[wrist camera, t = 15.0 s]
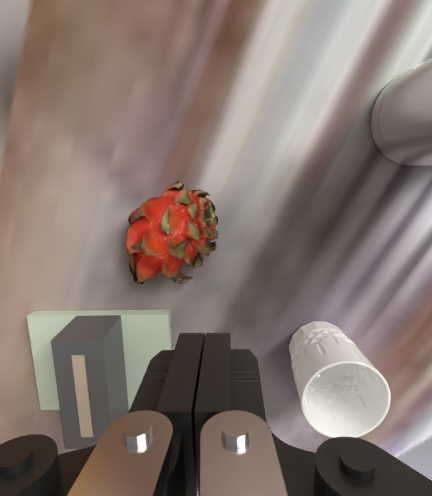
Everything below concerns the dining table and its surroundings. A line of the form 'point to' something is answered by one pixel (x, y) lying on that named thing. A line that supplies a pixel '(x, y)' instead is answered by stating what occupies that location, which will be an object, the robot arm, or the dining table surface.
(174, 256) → the dragon fruit
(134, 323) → the board
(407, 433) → the dining table surface
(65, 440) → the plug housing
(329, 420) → the white cup
